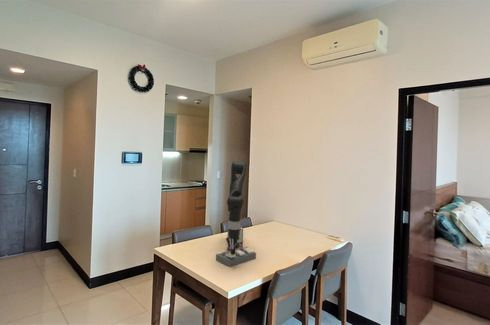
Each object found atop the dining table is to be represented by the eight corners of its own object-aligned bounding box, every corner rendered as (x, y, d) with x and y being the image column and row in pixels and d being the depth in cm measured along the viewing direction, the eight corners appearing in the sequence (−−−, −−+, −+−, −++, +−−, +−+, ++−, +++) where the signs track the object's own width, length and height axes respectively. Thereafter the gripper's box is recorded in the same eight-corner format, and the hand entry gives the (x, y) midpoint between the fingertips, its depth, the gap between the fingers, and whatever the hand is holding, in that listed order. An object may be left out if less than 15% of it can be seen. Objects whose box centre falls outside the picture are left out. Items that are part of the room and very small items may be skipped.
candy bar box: (241, 248, 209) (242, 227, 209) (242, 250, 204) (243, 228, 204) (226, 248, 207) (227, 227, 207) (227, 251, 202) (228, 229, 202)
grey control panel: (215, 260, 183) (216, 254, 183) (241, 252, 200) (242, 247, 200) (229, 266, 173) (229, 260, 173) (255, 258, 190) (256, 252, 190)
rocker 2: (234, 252, 185) (234, 250, 185) (238, 251, 188) (239, 249, 187) (240, 256, 181) (240, 254, 180) (244, 255, 183) (244, 253, 183)
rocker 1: (225, 256, 179) (225, 253, 179) (229, 255, 182) (229, 252, 182) (231, 258, 175) (231, 255, 175) (235, 257, 178) (235, 254, 178)
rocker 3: (242, 249, 190) (243, 247, 190) (246, 248, 193) (247, 246, 193) (248, 254, 186) (249, 252, 186) (252, 253, 189) (253, 251, 189)
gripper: (245, 229, 174) (244, 256, 175) (231, 224, 184) (230, 250, 184) (236, 230, 169) (235, 258, 170) (223, 226, 179) (221, 252, 179)
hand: (232, 254), depth 177 cm, fingers closed
